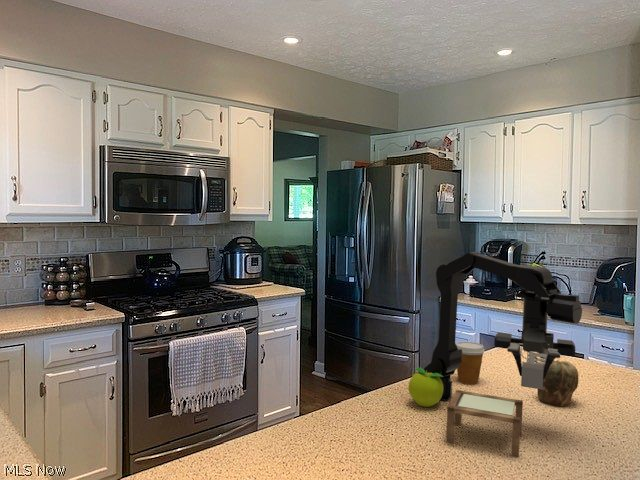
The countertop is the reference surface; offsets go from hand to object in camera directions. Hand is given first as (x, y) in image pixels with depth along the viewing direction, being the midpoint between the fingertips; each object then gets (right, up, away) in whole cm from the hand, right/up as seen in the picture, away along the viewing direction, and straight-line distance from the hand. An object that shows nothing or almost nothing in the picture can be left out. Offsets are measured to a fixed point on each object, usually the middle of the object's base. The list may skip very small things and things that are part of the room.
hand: (532, 377), depth 128 cm
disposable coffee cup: (-6, -11, +35) cm, 37 cm away
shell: (+15, -12, +19) cm, 27 cm away
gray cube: (0, -2, 0) cm, 2 cm away
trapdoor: (-14, -5, -7) cm, 17 cm away
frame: (-14, -13, -7) cm, 20 cm away
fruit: (-25, -12, +14) cm, 30 cm away
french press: (+20, -11, +44) cm, 50 cm away
